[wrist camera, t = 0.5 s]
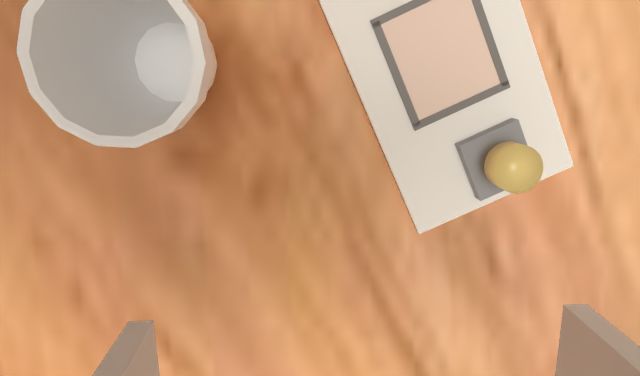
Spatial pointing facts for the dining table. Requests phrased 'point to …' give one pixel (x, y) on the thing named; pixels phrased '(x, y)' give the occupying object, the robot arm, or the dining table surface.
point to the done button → (513, 167)
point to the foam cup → (116, 66)
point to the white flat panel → (447, 95)
